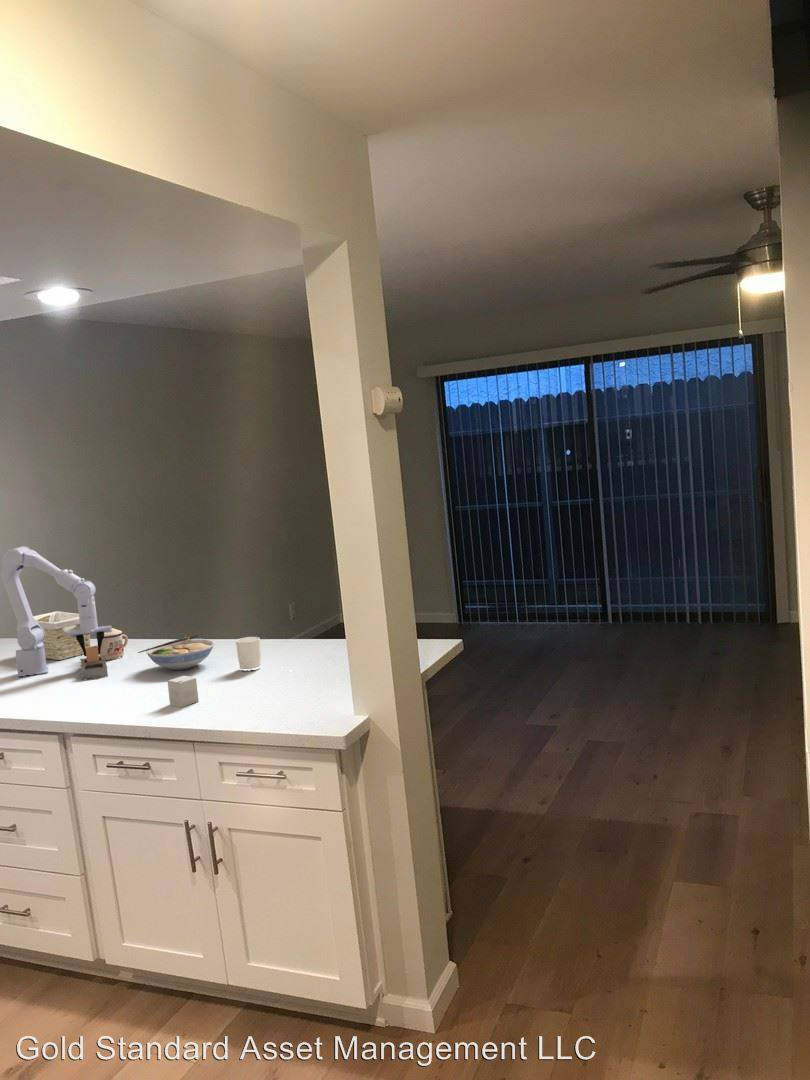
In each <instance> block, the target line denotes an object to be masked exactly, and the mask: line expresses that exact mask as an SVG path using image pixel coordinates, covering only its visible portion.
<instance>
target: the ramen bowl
mask: <svg viewBox="0 0 810 1080" xmlns="http://www.w3.org/2000/svg"><path fill="white" fill-rule="evenodd" d="M198 637H199V634H191V635H187V636H184V637H181V638H177V639H175V640H171V641H165V642H161V643H158V644H155V645H152V646H149V647H148V648H147V649H143V650H141V651H138V652H137V654H140V653H143V652H146V654H147V656H148V658H149V659H150V660H151V661H152V662H153V663H154V664H155V665H158V666H159V667H163V668H165V669H170V670H173V671H183V669H185V670H189V669H192V668H193V667H194V666H196V665H198V664H200V663H202V662H203V661H205V659H206V658H208V657H209V655H210V654H211V652H212V650H213V649H214V646H215V642H214V640H211V639H206V638H198ZM191 667H192V668H191ZM188 668H189V669H188Z"/></svg>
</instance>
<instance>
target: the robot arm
mask: <svg viewBox="0 0 810 1080" xmlns="http://www.w3.org/2000/svg"><path fill="white" fill-rule="evenodd" d="M1 561H2V563H1V571H0V578H1V580H2V584H3V586H4V588H5V589H4V590H5V591H6V594H7V597H8V600H9V602H10V603H9V604H10V606H11V608H12V612H13V614H14V616H15V619H16V622H17V627H16V632H17V633H16V634H17V638H16V639H17V644H18V646H19V647H20V649H17V650H15V657H16V661H15V662H16V672H17V675H18V676H23V677H26V676H25V675H30V676H34V675H33V674H37V675H43V674H47V673H49V666H47V661H46V660H47V659H46V658H45V651H44V644H43V641H44V639H45V631H44V630H43V629H42V628H41V627H40V625H39V622H38V621H37V620H35V619H34V617H33V616H34V615H33V613H32V609H31V606H30V604H29V601H28V598H27V596H26V592H25V590H24V587H23V584H22V582H21V578H20V574H21V572H22V571H23V570H24V567H33V568H34V567H35V568H36V569H38V570H40V571H41V572H44V573H45V574H48V575H49V576H51V577H53V578H54V579H55V582H56V584H58V585H59V586H61V587H62V588H64V589H65V590H67V591H68V592H70V593H72V594H73V596H74V597H75V599H76V600H77V601H76V602H77V611H78V614H79V620H80V629H78V630H73V631H67V635H68V638H71V637H75V636H76V639H77V641H78V642H79V644H80V646H81V648H82V650H83V652H84V654H83V656H84V657H86V649H85V643H84V635H90V636H91V635H96V636H97V637H96V640H97V641H96V642H97V646H98V653H99V654H100V651H101V644H102V641H103V638H104V632H112V628H113V627H112V625H105V626H104V625H102V626H98V625H99V624H98V617H97V616H98V615H97V609H96V600H95V594H96V590H97V587H96V586H95V585H96V584H94V583H93V582H92V581H91V580H85V578H83V577H82V578H81V577H80V576H79V575H77V574H75V573H73V572H74V571H73V569H67V568H64V569H61V568H59V567H58V566H56V565H55V564H53V563H52V562H51V561H49V560H47V559H46V558H45V557H43V556H42V555H40V554H39V553H38V552H37V551H36V550H34V549H31V548H30V547H29V546H26V545H21V546H19V547H15V548H11V549H8V550H7V551H6V552H5V553H4V555H2V558H1ZM111 627H112V628H111ZM42 673H43V674H42ZM18 676H17V677H18Z"/></svg>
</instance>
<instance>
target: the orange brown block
mask: <svg viewBox="0 0 810 1080" xmlns="http://www.w3.org/2000/svg"><path fill="white" fill-rule="evenodd" d="M85 649H86V656H85V658H87V663H88V662H95V661H99V653H98V645H90V647H85Z"/></svg>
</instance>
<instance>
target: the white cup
mask: <svg viewBox="0 0 810 1080" xmlns="http://www.w3.org/2000/svg"><path fill="white" fill-rule="evenodd" d="M235 646H236V647H235V648H236V653H237V660H238V664H239V670H240V669H252V668H256V667H259V666H260V665H261V660H262V659H261V657H262V656H261V655H262V654H261V638H260V637H259V636H246V637H241V638H237V639H235Z"/></svg>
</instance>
